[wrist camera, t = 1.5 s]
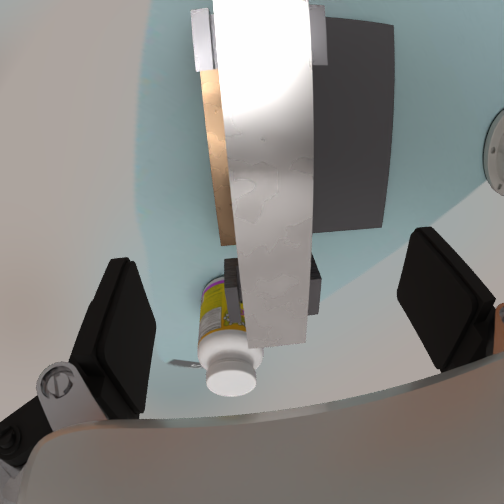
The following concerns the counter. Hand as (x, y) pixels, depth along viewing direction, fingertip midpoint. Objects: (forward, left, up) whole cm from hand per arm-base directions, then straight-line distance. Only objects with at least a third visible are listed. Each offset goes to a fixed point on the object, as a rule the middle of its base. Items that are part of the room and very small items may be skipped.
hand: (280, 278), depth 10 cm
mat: (-10, 0, -21) cm, 23 cm away
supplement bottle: (+3, +19, -21) cm, 29 cm away
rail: (-1, 0, -10) cm, 10 cm away
